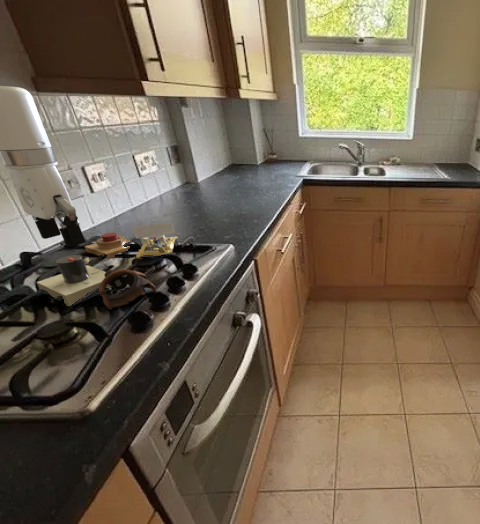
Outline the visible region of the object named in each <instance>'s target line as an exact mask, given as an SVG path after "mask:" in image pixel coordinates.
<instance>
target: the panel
mask: <svg viewBox="0 0 480 524" xmlns="http://www.w3.org/2000/svg"><path fill="white" fill-rule="evenodd" d="M86 268H87V271H88V273H89V278H88V279H86V280H84V281H81V282H77V283H65V281H64V279H63V277H62V274H61V273H60V274H57V275H54V276H51V277H48V278H44V279H42V280H38V281H36V284H37V287H38V289H39V290H40V289H43V290H45V291H47V292H48V293H49V294H50V295H51V296H52V297H56V296H59V295H61V296H62V297H63V299H64V303H65V304H66V305H65V306H66V307H68V308H70V307H69V306H71V305H72V304H74V303H75V302H76V301H78V300H79V299H81V298H82V297H84V296H85V295H86V294H87V293H89V292H91V291H93V290H94V289H96V288H98V287H100V284H101V282H102V281H103V279H104V278H105V276H104V275H105V273H106V272H107V271H104V270H102V269H98V268H96V267H93V266H91V265H89V264H88V265H86ZM106 287H110V285H108V284H107V286H106Z"/></svg>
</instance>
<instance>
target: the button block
mask: <svg viewBox="0 0 480 524" xmlns="http://www.w3.org/2000/svg"><path fill="white" fill-rule="evenodd" d="M117 236H118V239H117V240H115V241H110V242H103V239H102V237H100V238H98V239H96V242H94V243H91V244H87V245H85V246H84V249H85V252H86V253H90V254H92V255H95V256H98V257H100V255H103V254H105V255H107V257H106V258H105V259H106V260H111V259H114V258H116V257H115V255H116V254H118V253H121V252H125V251H128V249H129V248H130V246H127V247H124V246H123V245H124V244H125V243H128V242H130V241H131V240H130V239H127V238H125V236H124V235H121V234H117Z"/></svg>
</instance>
